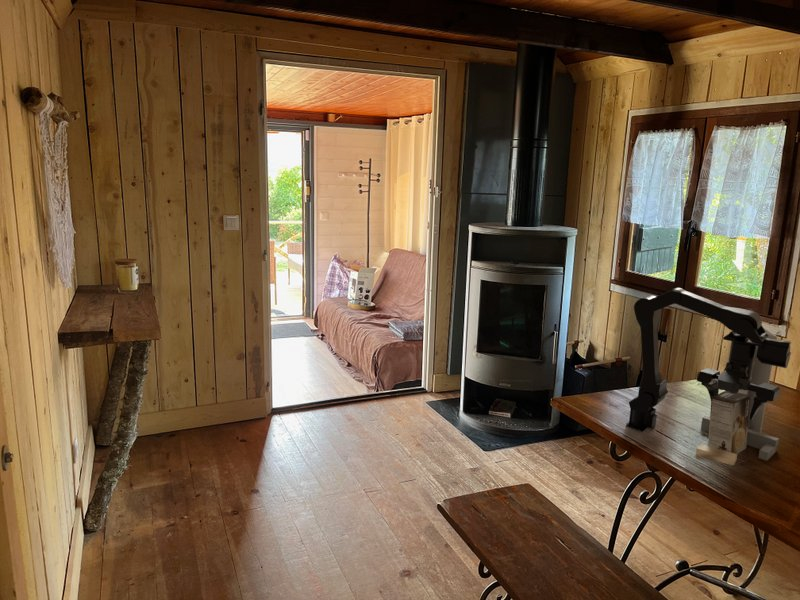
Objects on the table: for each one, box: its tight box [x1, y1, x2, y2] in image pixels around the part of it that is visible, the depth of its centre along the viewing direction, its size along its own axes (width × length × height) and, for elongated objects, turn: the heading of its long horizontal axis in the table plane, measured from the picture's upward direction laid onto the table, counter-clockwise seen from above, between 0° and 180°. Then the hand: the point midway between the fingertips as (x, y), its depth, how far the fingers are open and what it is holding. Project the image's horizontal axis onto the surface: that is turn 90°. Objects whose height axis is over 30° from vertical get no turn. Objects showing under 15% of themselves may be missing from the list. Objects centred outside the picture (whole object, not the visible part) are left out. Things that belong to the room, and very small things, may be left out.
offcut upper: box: [695, 443, 738, 467], centre depth 154 cm, size 9×4×2 cm, turn 51°
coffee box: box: [707, 390, 751, 455], centre depth 158 cm, size 9×6×16 cm
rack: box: [700, 415, 780, 462], centre depth 162 cm, size 19×8×5 cm, turn 42°
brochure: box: [736, 326, 778, 433], centre depth 174 cm, size 14×6×30 cm, turn 168°
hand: (732, 413), depth 157 cm, fingers open, 9 cm apart
